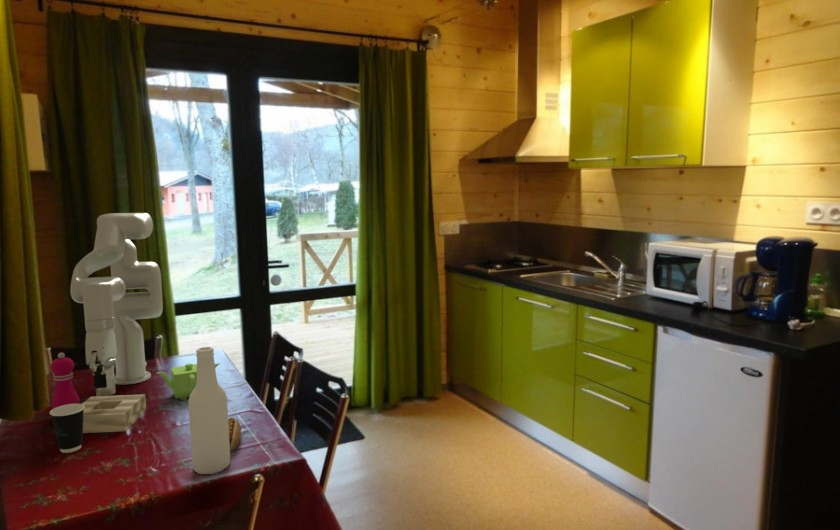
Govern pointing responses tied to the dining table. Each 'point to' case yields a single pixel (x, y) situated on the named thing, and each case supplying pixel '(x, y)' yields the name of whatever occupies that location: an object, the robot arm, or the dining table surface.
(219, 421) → the alcohol
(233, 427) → the food
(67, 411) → the dixie cup
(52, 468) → the dining table surface
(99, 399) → the block
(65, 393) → the pepper mill
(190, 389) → the teapot
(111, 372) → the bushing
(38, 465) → the dining table surface
